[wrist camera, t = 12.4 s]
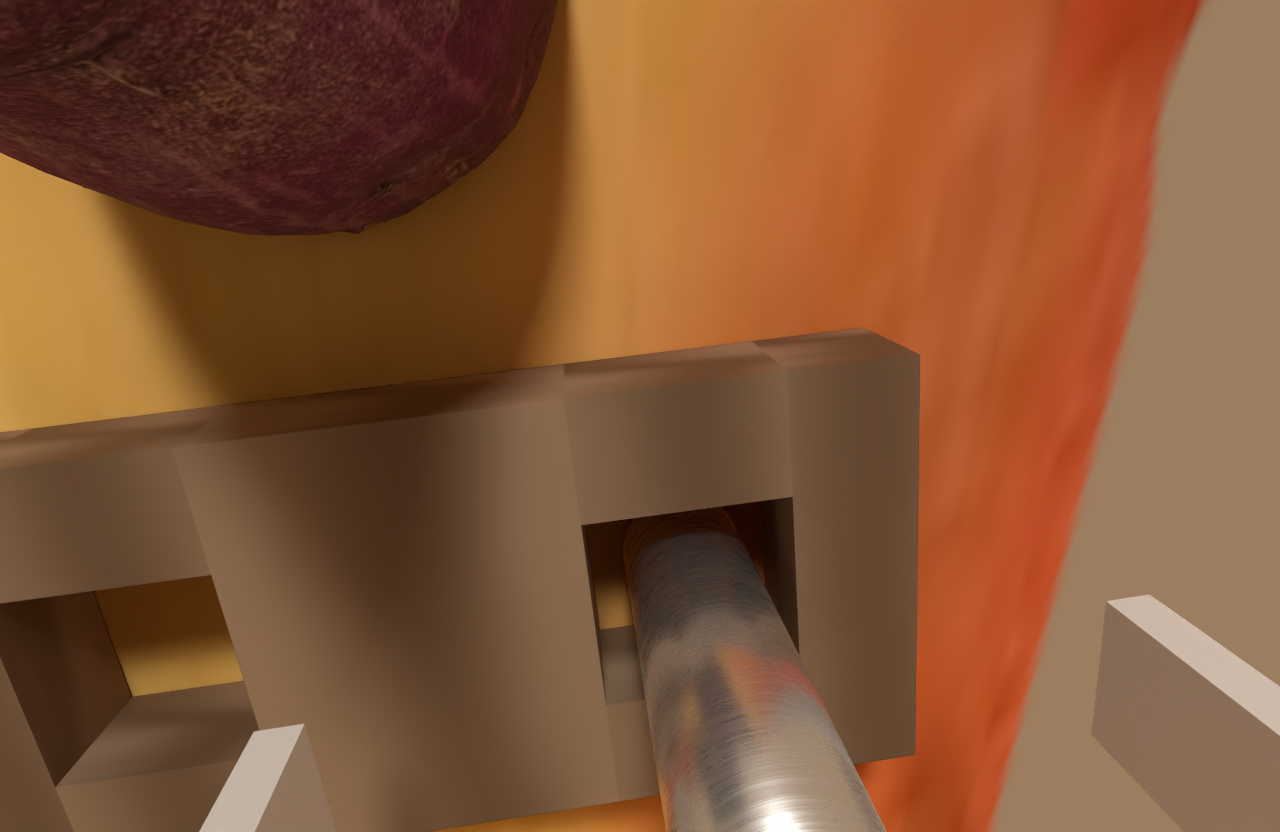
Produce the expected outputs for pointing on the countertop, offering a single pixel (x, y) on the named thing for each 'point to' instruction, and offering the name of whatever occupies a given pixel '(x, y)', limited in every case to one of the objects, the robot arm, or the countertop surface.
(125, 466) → the board
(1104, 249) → the countertop surface
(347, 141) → the vegetable
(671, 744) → the pin
